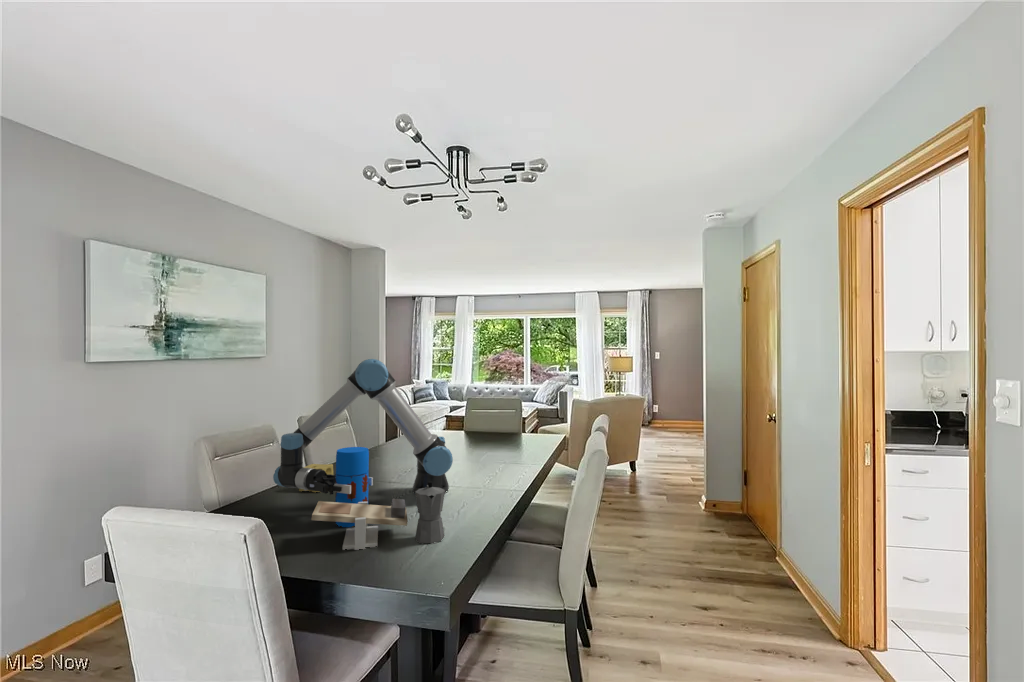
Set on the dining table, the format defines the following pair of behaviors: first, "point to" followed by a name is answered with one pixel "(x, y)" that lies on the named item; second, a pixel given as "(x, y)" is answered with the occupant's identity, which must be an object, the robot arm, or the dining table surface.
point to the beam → (362, 512)
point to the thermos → (352, 476)
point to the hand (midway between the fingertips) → (361, 485)
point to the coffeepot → (429, 514)
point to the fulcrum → (361, 534)
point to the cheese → (326, 467)
